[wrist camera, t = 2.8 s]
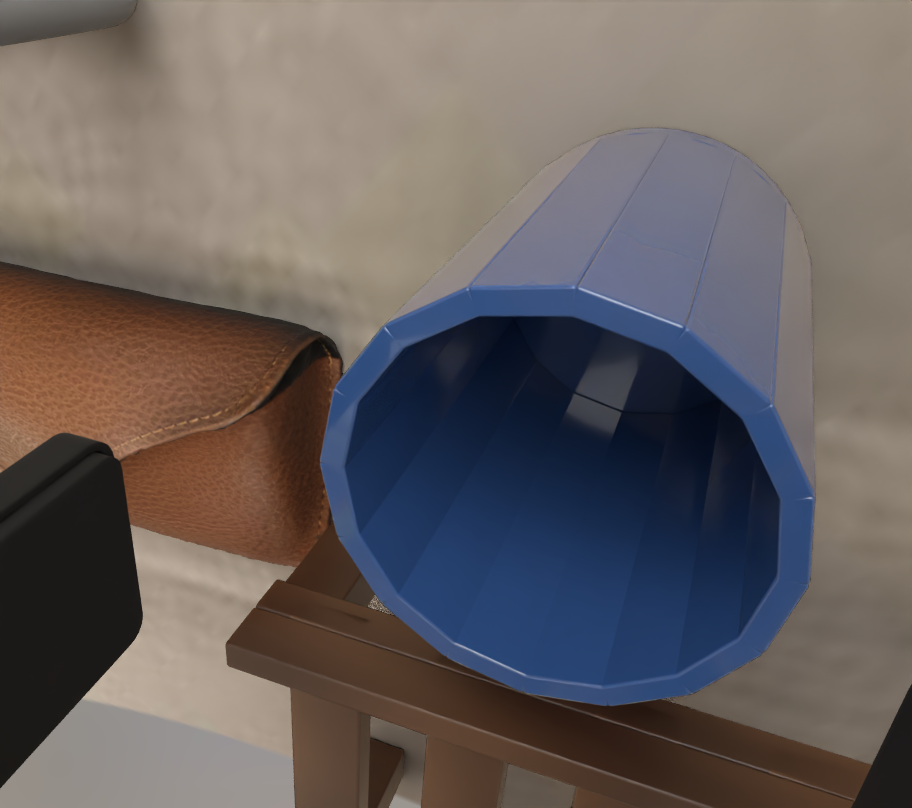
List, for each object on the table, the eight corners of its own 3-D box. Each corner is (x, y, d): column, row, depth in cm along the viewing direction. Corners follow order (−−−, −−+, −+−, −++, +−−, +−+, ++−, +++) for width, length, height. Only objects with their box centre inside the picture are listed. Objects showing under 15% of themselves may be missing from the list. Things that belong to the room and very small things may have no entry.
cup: (451, 209, 20) (238, 389, 12) (734, 64, 16) (675, 191, 9) (579, 447, 22) (462, 728, 14) (857, 360, 18) (893, 667, 11)
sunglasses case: (-131, 440, 30) (-351, 440, 24) (-89, 243, 30) (-298, 189, 24) (337, 577, 26) (222, 623, 19) (388, 346, 26) (290, 314, 19)
